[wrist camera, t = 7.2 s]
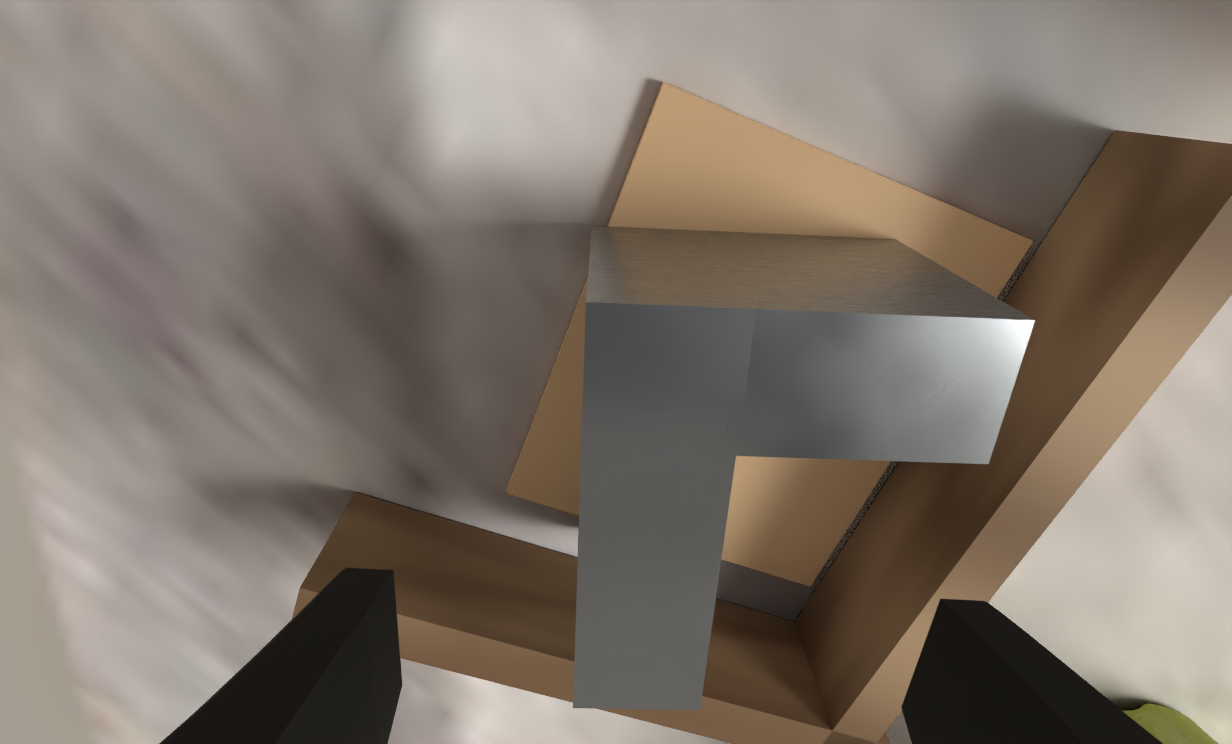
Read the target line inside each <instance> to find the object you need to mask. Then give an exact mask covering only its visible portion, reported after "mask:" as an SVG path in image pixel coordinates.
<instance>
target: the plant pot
mask: <svg viewBox="0 0 1232 744" xmlns="http://www.w3.org/2000/svg"><path fill="white" fill-rule="evenodd" d="M1123 712H1124V713H1125V714H1127V715H1128V716H1129V717H1130V718H1132V719H1133V720H1134V721H1135V722H1137V723H1138V724H1139V725H1140V726H1142V727H1143V728H1144V729H1145V730H1147V731H1148V732H1149V733H1150V734H1152V735H1153V736H1154V737H1155V738H1157V739H1158V740H1159V741H1160V742H1162V743H1163V744H1218V743H1217V742H1216V741H1215V740H1213V739H1212V738H1211V737H1210V736H1209V735H1208V734H1207V733H1205V732H1204V731H1203V730H1202V729H1201V728H1200V727H1199V726H1198V725H1197V724H1196V723H1195V722H1193V721H1192V720H1191V719H1189V718H1188V717H1186V716H1185V715H1183V714H1182V713H1180V712H1177V711H1175V710H1173V709H1170V708H1167V707H1164V706H1160V705H1155V704H1144V705H1142V706H1141V708H1139V709H1136V710H1130V711H1123Z"/></svg>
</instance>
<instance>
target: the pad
mask: <svg viewBox="0 0 1232 744" xmlns="http://www.w3.org/2000/svg"><path fill="white" fill-rule="evenodd" d="M608 226H612V227H634V228H657V229H679V230H702V231H724V232H746V233H769V234H791V235H814V236H836V237H858V238H881V239H896V240H898V241H900V242H901V243H903V244H905V245H906V246H908V247H910V248H912V249H913V250H915V251H917V252H918V253H920V254H922V255H924V256H925V257H927V258H929V259H930V260H932V261H934V262H936V263H937V264H939V265H941V266H943V267H944V268H946V269H948V270H949V271H951V272H953V273H955V274H956V275H958V276H960V277H961V278H963V279H965V280H967V281H968V282H970V283H972V284H973V285H975V286H977V287H979V288H980V289H982V290H984V291H986V292H987V293H989V294H991V295H992V296H994V297H996V298H997V297H998V295H999V294H1000V292H1001V291H1002V289H1003V288H1004V286H1005V285H1006V283H1007V281H1008V280H1009V278H1010V277H1011V275H1012V274H1013V272H1014V271H1015V269H1016V268H1017V266H1018V264H1019V263H1020V261H1021V260H1022V258H1023V257H1024V255H1025V254H1026V252H1027V250H1028V249H1029V247H1030V246H1031V244H1032V243H1033V240H1030V239H1028V238H1026V237H1023V236H1021V235H1019V234H1016V233H1014V232H1012V231H1009V230H1007V229H1005V228H1002V227H1000V226H998V225H995V224H993V223H991V222H988V221H986V220H984V219H981V218H979V217H977V216H974V215H972V214H970V213H967V212H965V211H963V210H960V209H958V208H956V207H953V206H951V205H949V204H946V203H944V202H942V201H939V200H937V199H935V198H932V197H930V196H928V195H925V194H923V193H921V192H918V191H916V190H914V189H911V188H909V187H907V186H904V185H902V184H900V183H897V182H895V181H893V180H890V179H888V178H886V177H883V176H881V175H879V174H877V173H874V172H872V171H870V170H867V169H865V168H863V167H860V166H858V165H856V164H853V163H851V162H849V161H846V160H844V159H842V158H839V157H837V156H835V155H832V154H830V153H828V152H825V151H823V150H821V149H818V148H816V147H814V146H811V145H809V144H807V143H804V142H802V141H800V140H797V139H795V138H793V137H790V136H788V135H786V134H783V133H781V132H779V131H776V130H774V129H772V128H769V127H767V126H765V125H762V124H760V123H758V122H755V121H753V120H751V119H748V118H746V117H744V116H741V115H739V114H737V113H734V112H732V111H730V110H727V109H725V108H723V107H720V106H718V105H716V104H713V103H711V102H709V101H706V100H704V99H702V98H700V97H697V96H695V95H693V94H690V93H688V92H686V91H683V90H681V89H679V88H676V87H674V86H672V85H669V84H667V83H665V82H662V85H661V87H660V90H659V92H658V95H657V98H656V100H655V103H654V105H653V108H652V111H651V113H650V116H649V119H648V121H647V124H646V126H645V129H644V132H643V134H642V137H641V139H640V142H639V145H638V147H637V150H636V152H635V155H634V158H633V160H632V163H631V165H630V168H629V171H628V173H627V176H626V179H625V181H624V184H623V186H622V189H621V192H620V194H619V197H618V199H617V202H616V205H615V207H614V210H613V212H612V215H611V218H610V220H609V223H608ZM587 279H588V278H587ZM586 293H587V280H586V283H585V286H584V288H583V291H582V293H581V296H580V299H579V301H578V304H577V306H576V309H575V312H574V314H573V317H572V319H571V322H570V325H569V327H568V330H567V332H566V335H565V338H564V340H563V343H562V346H561V348H560V351H559V353H558V356H557V359H556V361H555V364H554V366H553V369H552V372H551V374H550V377H549V379H548V382H547V385H546V387H545V390H544V392H543V395H542V398H541V400H540V403H539V406H538V408H537V411H536V413H535V416H534V419H533V421H532V424H531V426H530V429H529V432H528V434H527V437H526V439H525V442H524V445H523V447H522V450H521V452H520V455H519V458H518V460H517V463H516V466H515V468H514V471H513V473H512V476H511V479H510V481H509V484H508V486H507V491H506V494H509V495H513V496H516V497H519V498H522V499H526V500H529V501H532V502H535V503H539V504H542V505H545V506H548V507H552V508H555V509H558V510H562V511H565V512H568V513H571V514H575V515H578V516H579V503H580V471H581V440H582V408H583V376H584V345H585V313H586ZM890 463H891V461H875V460H844V459H813V458H782V457H751V456H736V460H735V467H734V474H733V481H732V488H731V495H730V502H729V509H728V516H727V523H726V530H725V538H724V545H723V552H722V559H721V560H725V561H728V562H731V563H734V564H738V565H741V566H744V567H747V568H751V569H754V570H757V571H761V572H764V573H767V574H770V575H774V576H777V577H780V578H783V579H787V580H790V581H793V582H796V583H800V584H803V585H806V586H809V587H810V586H811V585H812V583H813V582H814V580H815V579H816V577H817V576H818V574H819V573H820V571H821V569H822V568H823V566H824V565H825V563H826V562H827V560H828V559H829V557H830V555H831V554H832V552H833V551H834V549H835V548H836V546H837V545H838V543H839V542H840V540H841V538H842V537H843V535H844V534H845V532H846V531H847V529H848V528H849V526H850V525H851V523H852V521H853V520H854V518H855V517H856V515H857V514H858V512H859V511H860V509H861V508H862V506H863V504H864V503H865V501H866V500H867V498H868V497H869V495H870V494H871V492H872V490H873V489H874V487H875V486H876V484H877V483H878V481H879V480H880V478H881V477H882V475H883V473H884V472H885V470H886V469H887V467H888V466H889V464H890Z"/></svg>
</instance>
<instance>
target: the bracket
mask: <svg viewBox="0 0 1232 744" xmlns="http://www.w3.org/2000/svg"><path fill="white" fill-rule="evenodd" d="M1034 322H1035V320H1034V319H1032V318H1030V317H1029V316H1027V315H1025V314H1023V313H1022V312H1020V311H1018V310H1016V309H1015V308H1013V307H1011V306H1010V305H1008V304H1006V303H1004V302H1003V301H1001V300H999V299H998V298H996V297H994V296H992V295H991V294H989V293H987V292H986V291H984V290H982V289H980V288H979V287H977V286H975V285H973V284H972V283H970V282H968V281H967V280H965V279H963V278H961V277H960V276H958V275H956V274H955V273H953V272H951V271H949V270H948V269H946V268H944V267H943V266H941V265H939V264H937V263H936V262H934V261H932V260H930V259H929V258H927V257H925V256H924V255H922V254H920V253H918V252H917V251H915V250H913V249H912V248H910V247H908V246H906V245H905V244H903V243H901V242H900V241H898V240H896V239H881V238H858V237H836V236H814V235H791V234H769V233H746V232H724V231H702V230H679V229H657V228H634V227H612V226H591V237H590V251H589V265H588V279H587V293H586V313H585V345H584V376H583V408H582V440H581V471H580V503H579V535H578V567H577V598H576V630H575V662H574V693H573V708H603V709H658V710H700V707H701V700H702V693H703V686H704V679H705V671H706V664H707V657H708V650H709V643H710V636H711V629H712V622H713V615H714V608H715V601H716V594H717V587H718V580H719V573H720V566H721V559H722V552H723V545H724V538H725V530H726V523H727V516H728V509H729V502H730V495H731V488H732V481H733V474H734V467H735V460H736V456H751V457H782V458H813V459H844V460H875V461H906V462H937V463H968V464H989V461H990V458H991V455H992V452H993V449H994V446H995V443H996V440H997V436H998V433H999V430H1000V427H1001V424H1002V421H1003V418H1004V415H1005V412H1006V409H1007V406H1008V402H1009V399H1010V396H1011V393H1012V390H1013V387H1014V384H1015V381H1016V378H1017V375H1018V372H1019V368H1020V365H1021V362H1022V359H1023V356H1024V353H1025V350H1026V347H1027V344H1028V341H1029V338H1030V334H1031V331H1032V328H1033V325H1034Z"/></svg>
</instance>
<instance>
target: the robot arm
mask: <svg viewBox="0 0 1232 744" xmlns="http://www.w3.org/2000/svg"><path fill="white" fill-rule="evenodd" d="M401 687H402V676H401V662H400V649H399V636H398V623H397V609H396V596H395V583H394V570H383V569H364V568H345V569H343V570H342V571H341V572H340V573H338V574H337V575H336V576H335V577H334V578H333V579H332V580H331V581H330V582H329V583H328V584H327V585H326V586H325V587H324V588H323V589H322V590H321V591H320V592H319V593H318V594H317V595H316V596H315V597H314V598H313V599H312V600H311V601H310V602H309V603H308V604H307V605H306V606H305V607H304V608H303V609H302V610H301V611H300V612H299V613H298V614H297V615H296V616H295V617H294V618H293V619H292V620H291V621H290V622H289V623H288V624H287V625H286V626H285V627H284V628H283V629H282V630H281V631H280V632H279V633H278V634H277V635H276V636H275V637H274V638H273V639H272V640H271V641H270V642H269V643H268V644H267V645H266V646H265V647H264V648H263V649H262V650H261V651H260V652H259V653H258V654H257V655H255V656H254V657H253V658H252V659H251V660H250V661H249V662H248V663H247V664H246V665H245V666H244V667H243V668H242V669H241V670H240V671H239V672H237V673H236V674H235V675H234V676H233V677H232V678H231V679H230V680H229V681H228V682H227V683H226V684H225V685H224V686H223V687H222V688H220V689H219V690H218V691H217V692H216V693H215V694H214V695H213V696H212V697H211V698H210V699H209V700H208V701H207V702H206V703H205V704H203V705H202V706H201V707H200V708H199V709H198V710H197V711H196V712H195V713H194V714H193V715H191V716H190V717H189V718H188V719H187V720H186V721H185V722H184V723H182V724H181V725H180V726H179V727H178V728H177V729H176V730H174V731H173V732H172V733H171V734H170V735H169V736H168V737H166V738H165V739H164V740H163V741H162V742H161V743H160V744H387V743H388V739H389V735H390V732H391V728H392V724H393V720H394V716H395V712H396V708H397V703H398V699H399V695H400V691H401ZM901 708H902V711H903V714H904V718H905V721H906V725H907V728H908V731H909V735H910V738H911V741H912V744H1163V743H1162V742H1160V741H1159V740H1158V739H1157V738H1155V737H1154V736H1153V735H1152V734H1150V733H1149V732H1148V731H1147V730H1145V729H1144V728H1143V727H1142V726H1140V725H1139V724H1138V723H1137V722H1135V721H1134V720H1133V719H1132V718H1130V717H1129V716H1128V715H1127V714H1125V713H1124V712H1123V711H1122V710H1121V709H1119V708H1118V707H1117V706H1116V705H1114V704H1113V703H1112V702H1111V701H1110V700H1108V699H1107V698H1106V697H1105V696H1103V695H1102V694H1101V693H1100V692H1098V691H1097V690H1096V689H1095V688H1094V687H1092V686H1091V685H1090V684H1089V683H1087V682H1086V681H1085V680H1084V679H1083V678H1081V677H1080V676H1079V675H1078V674H1076V673H1075V672H1074V671H1073V670H1072V669H1070V668H1069V667H1068V666H1067V665H1066V664H1064V663H1063V662H1062V661H1061V660H1059V659H1058V658H1057V657H1056V656H1055V655H1053V654H1052V653H1051V652H1050V651H1048V650H1047V649H1046V648H1045V647H1043V646H1042V645H1041V644H1040V643H1039V642H1037V641H1036V640H1035V639H1034V638H1032V637H1031V636H1030V635H1029V634H1027V633H1026V632H1025V631H1024V630H1022V629H1021V628H1020V627H1019V626H1017V625H1016V624H1015V623H1014V622H1012V621H1011V620H1010V619H1008V618H1007V617H1006V616H1005V615H1003V614H1002V613H1001V612H999V611H998V610H997V609H995V608H994V607H993V606H991V605H990V604H989V603H987V602H986V601H977V600H958V599H940V601H939V604H938V606H937V609H936V612H935V615H934V618H933V620H932V623H931V626H930V629H929V631H928V634H927V637H926V640H925V643H924V645H923V648H922V651H921V654H920V656H919V659H918V662H917V665H916V668H915V670H914V673H913V676H912V679H911V681H910V684H909V687H908V690H907V693H906V695H905V698H904V701H903V704H902V706H901Z"/></svg>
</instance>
